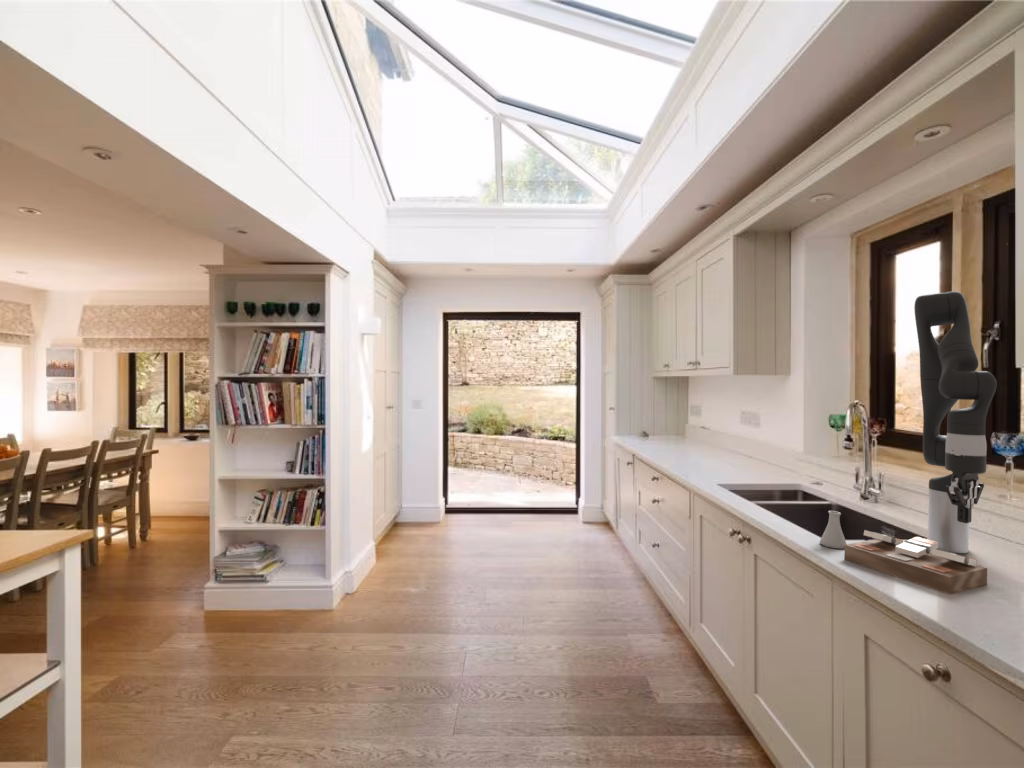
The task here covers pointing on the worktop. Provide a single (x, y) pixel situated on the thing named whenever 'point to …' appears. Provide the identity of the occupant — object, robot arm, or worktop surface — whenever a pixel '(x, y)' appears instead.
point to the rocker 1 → (883, 537)
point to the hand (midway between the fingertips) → (964, 522)
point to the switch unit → (917, 567)
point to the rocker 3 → (954, 557)
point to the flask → (833, 532)
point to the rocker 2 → (916, 547)
